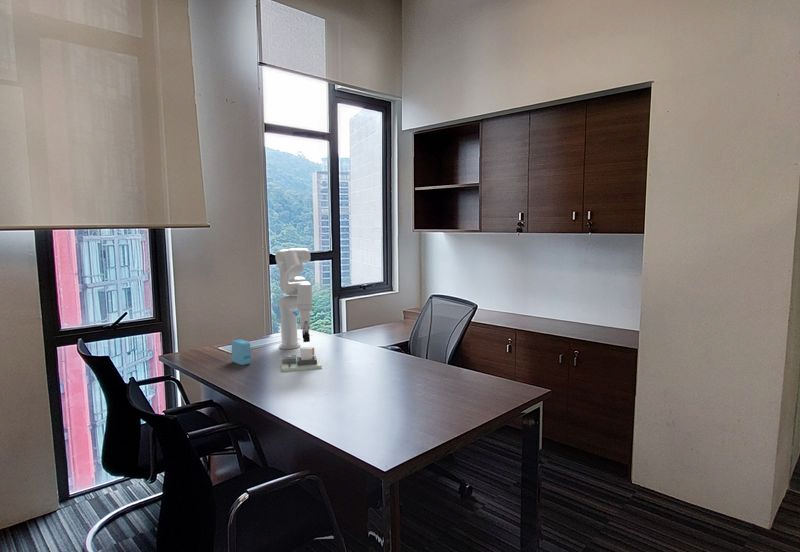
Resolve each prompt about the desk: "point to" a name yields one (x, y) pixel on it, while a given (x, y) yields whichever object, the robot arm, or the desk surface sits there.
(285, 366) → the board
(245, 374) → the desk surface
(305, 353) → the plug
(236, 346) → the data package
